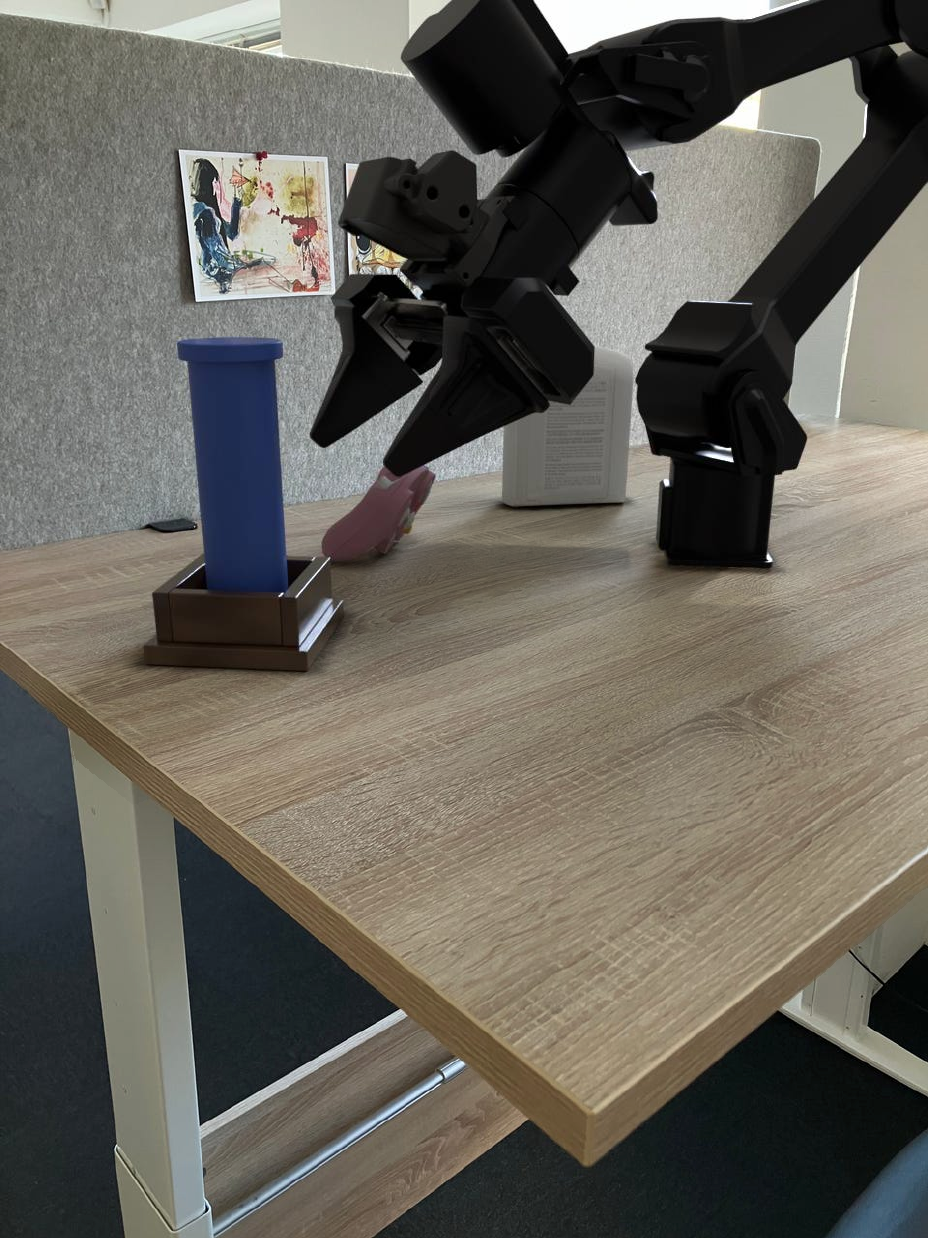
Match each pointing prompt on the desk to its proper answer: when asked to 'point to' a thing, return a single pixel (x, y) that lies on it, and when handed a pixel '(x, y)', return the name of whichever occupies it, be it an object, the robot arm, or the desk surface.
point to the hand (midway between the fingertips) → (350, 455)
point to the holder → (245, 620)
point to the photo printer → (574, 443)
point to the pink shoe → (379, 515)
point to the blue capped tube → (238, 460)
